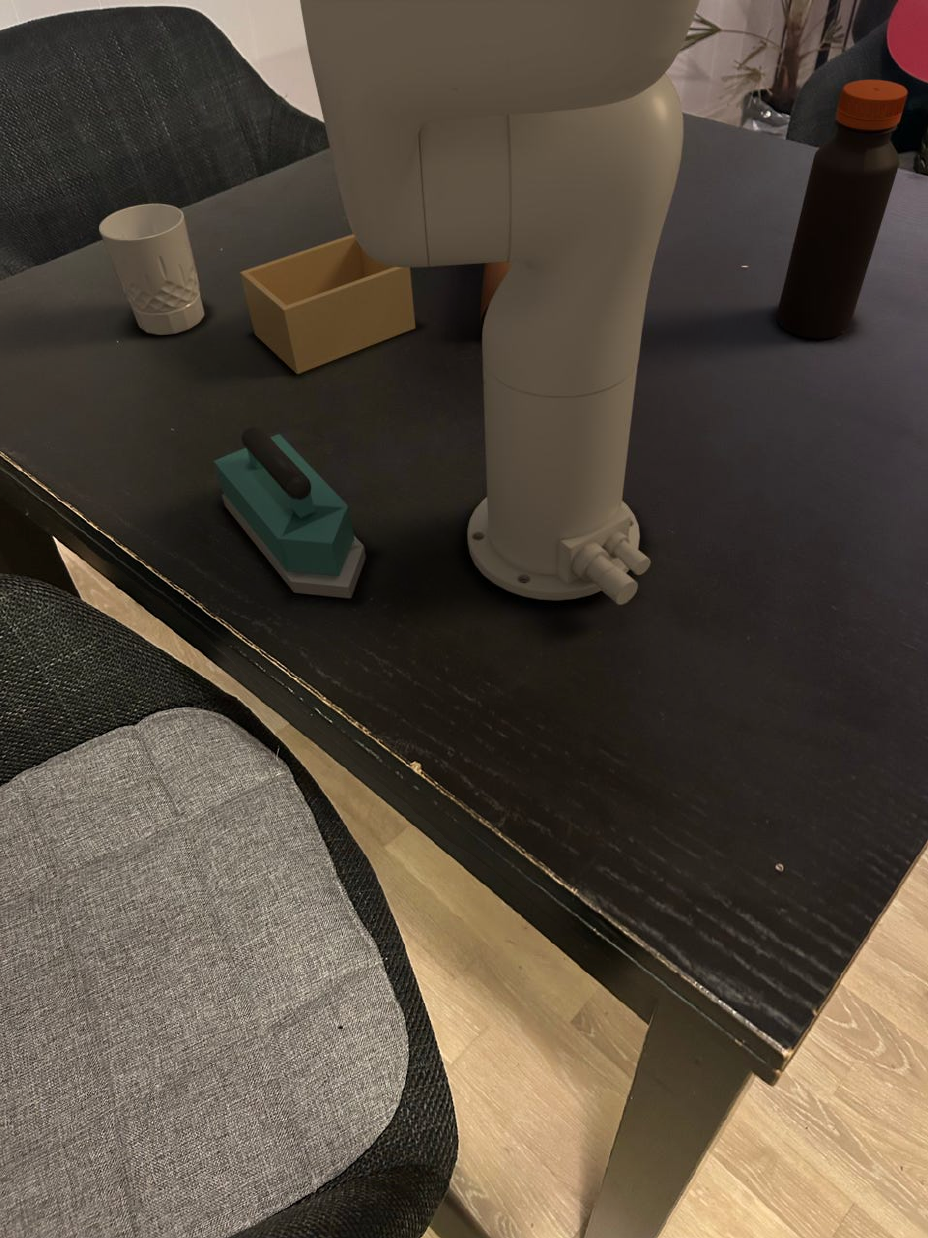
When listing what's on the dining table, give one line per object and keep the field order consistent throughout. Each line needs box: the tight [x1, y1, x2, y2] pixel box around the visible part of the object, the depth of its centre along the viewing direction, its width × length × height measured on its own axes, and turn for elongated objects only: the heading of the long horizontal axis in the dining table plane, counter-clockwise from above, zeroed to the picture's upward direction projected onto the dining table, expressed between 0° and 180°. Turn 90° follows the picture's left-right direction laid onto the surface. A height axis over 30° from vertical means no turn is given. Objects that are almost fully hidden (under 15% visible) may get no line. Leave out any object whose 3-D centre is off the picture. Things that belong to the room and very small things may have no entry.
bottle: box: [776, 79, 909, 340], centre depth 77 cm, size 7×7×20 cm
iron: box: [213, 425, 367, 599], centre depth 64 cm, size 15×6×8 cm, turn 35°
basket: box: [239, 233, 416, 375], centre depth 85 cm, size 9×13×6 cm
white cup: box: [98, 203, 205, 336], centre depth 86 cm, size 8×8×10 cm
